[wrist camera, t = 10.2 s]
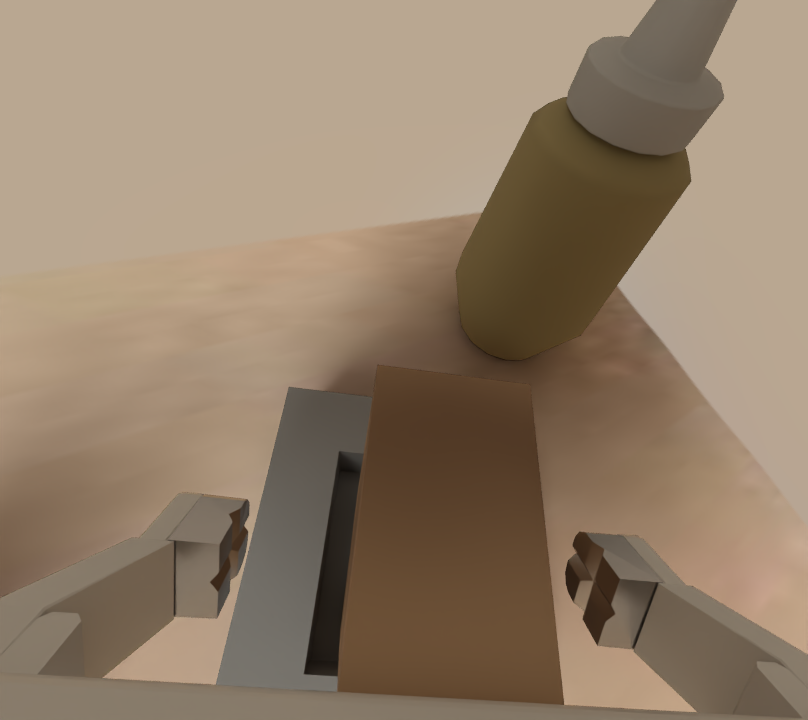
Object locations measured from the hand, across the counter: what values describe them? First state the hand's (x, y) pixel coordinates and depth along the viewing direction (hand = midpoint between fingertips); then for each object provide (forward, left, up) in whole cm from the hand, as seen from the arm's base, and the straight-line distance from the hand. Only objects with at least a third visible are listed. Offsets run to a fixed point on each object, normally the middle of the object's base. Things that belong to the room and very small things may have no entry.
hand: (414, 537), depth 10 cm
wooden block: (0, 0, -8) cm, 8 cm away
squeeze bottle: (-4, +15, -9) cm, 18 cm away
